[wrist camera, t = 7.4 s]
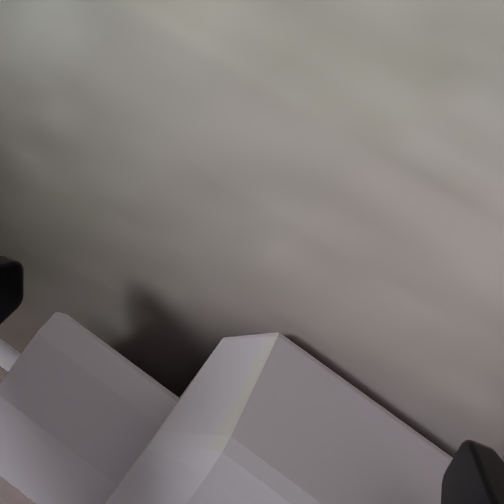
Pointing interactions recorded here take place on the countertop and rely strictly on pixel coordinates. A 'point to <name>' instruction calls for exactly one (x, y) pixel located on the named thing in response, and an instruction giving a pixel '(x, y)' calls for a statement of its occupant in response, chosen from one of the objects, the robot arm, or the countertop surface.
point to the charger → (201, 429)
